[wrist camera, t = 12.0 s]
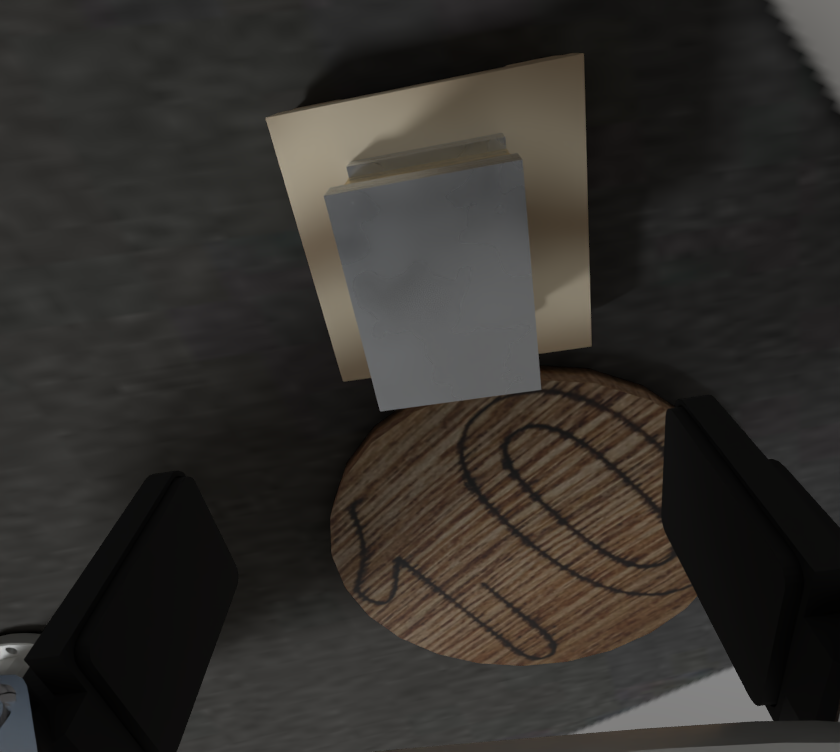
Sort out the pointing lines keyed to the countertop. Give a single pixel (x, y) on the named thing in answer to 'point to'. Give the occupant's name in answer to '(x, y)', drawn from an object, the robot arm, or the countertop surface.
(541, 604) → the trivet
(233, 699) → the countertop surface
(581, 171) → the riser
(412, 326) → the block
